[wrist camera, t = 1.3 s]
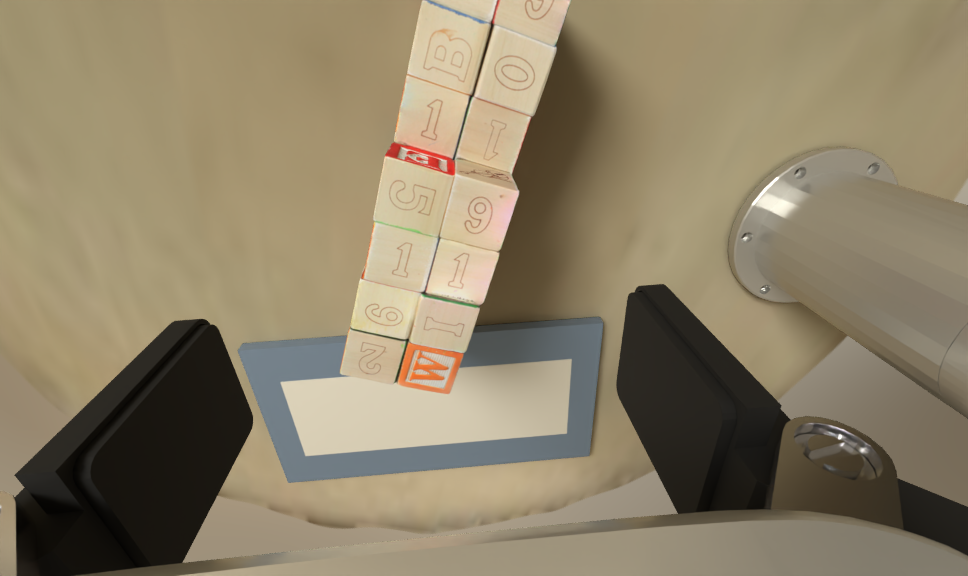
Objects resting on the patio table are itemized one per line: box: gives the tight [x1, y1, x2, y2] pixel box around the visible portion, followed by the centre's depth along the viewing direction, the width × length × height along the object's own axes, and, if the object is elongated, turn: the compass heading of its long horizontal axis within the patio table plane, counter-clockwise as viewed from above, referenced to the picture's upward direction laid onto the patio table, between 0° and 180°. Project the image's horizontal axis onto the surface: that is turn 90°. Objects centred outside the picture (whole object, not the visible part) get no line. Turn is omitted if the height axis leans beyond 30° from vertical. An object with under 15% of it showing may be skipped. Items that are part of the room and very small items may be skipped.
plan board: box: [238, 317, 603, 483], centre depth 40 cm, size 30×16×1 cm, turn 92°
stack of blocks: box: [340, 0, 571, 394], centre depth 25 cm, size 21×6×12 cm, turn 162°
